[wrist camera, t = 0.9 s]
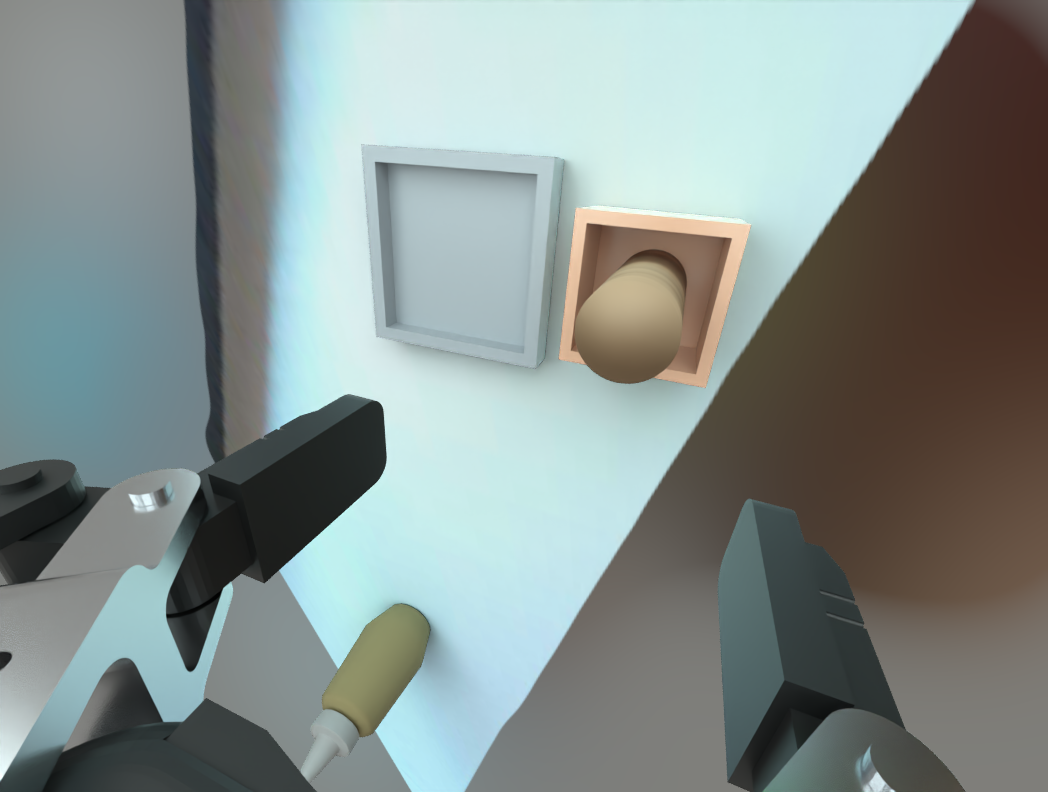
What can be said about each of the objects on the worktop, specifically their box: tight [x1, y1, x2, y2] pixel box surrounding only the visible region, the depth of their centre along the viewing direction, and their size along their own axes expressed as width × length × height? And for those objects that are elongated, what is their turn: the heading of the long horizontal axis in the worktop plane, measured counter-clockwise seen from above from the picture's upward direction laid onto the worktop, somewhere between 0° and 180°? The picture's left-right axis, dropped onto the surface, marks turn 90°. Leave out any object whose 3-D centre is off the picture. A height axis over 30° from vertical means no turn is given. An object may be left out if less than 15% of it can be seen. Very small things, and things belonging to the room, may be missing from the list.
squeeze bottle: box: [300, 604, 430, 784], centre depth 48 cm, size 8×8×18 cm
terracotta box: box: [559, 205, 751, 388], centre depth 28 cm, size 9×9×6 cm
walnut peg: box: [574, 249, 687, 384], centre depth 24 cm, size 4×4×12 cm
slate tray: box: [361, 144, 564, 369], centre depth 33 cm, size 14×14×2 cm
